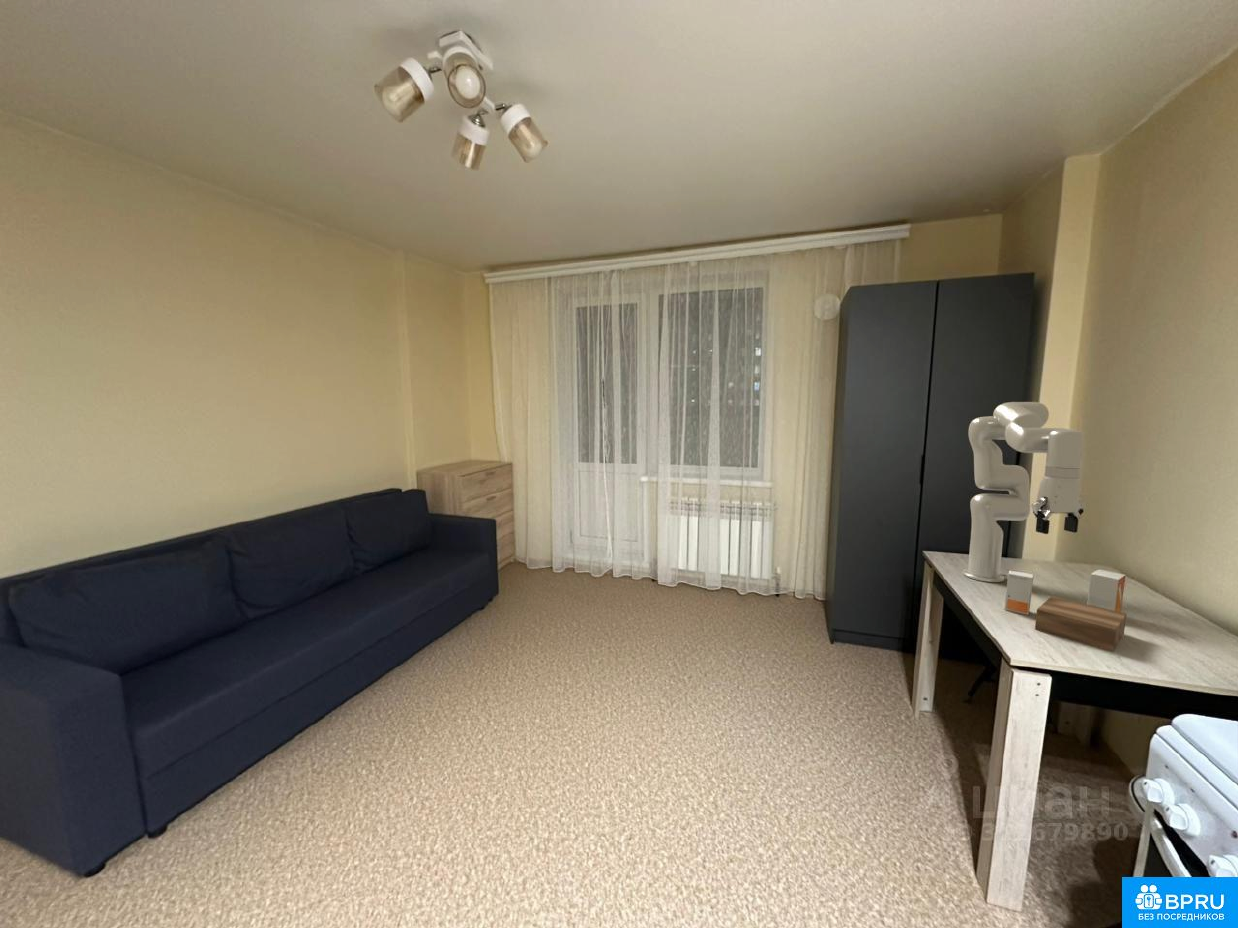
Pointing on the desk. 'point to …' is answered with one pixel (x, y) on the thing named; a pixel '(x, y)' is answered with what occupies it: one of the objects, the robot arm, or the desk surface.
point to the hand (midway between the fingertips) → (1056, 532)
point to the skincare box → (1019, 592)
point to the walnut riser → (1081, 622)
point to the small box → (1106, 590)
